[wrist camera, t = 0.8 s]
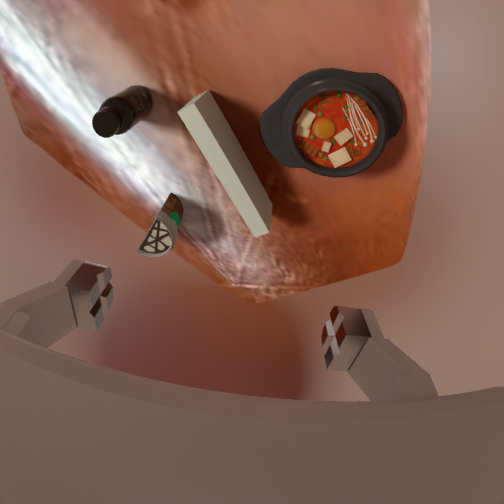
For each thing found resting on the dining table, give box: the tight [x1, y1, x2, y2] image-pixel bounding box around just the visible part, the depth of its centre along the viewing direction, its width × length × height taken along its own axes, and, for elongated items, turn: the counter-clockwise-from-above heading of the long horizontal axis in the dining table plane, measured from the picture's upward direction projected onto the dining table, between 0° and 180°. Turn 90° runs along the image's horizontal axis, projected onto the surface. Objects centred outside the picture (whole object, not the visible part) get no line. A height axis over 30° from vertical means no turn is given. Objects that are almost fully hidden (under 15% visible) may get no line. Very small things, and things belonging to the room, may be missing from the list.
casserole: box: [260, 68, 402, 177], centre depth 43 cm, size 25×19×8 cm
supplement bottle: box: [92, 86, 153, 138], centre depth 43 cm, size 7×7×12 cm
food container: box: [137, 193, 183, 257], centre depth 61 cm, size 12×6×10 cm, turn 144°
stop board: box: [177, 90, 273, 237], centre depth 50 cm, size 3×26×9 cm, turn 26°
